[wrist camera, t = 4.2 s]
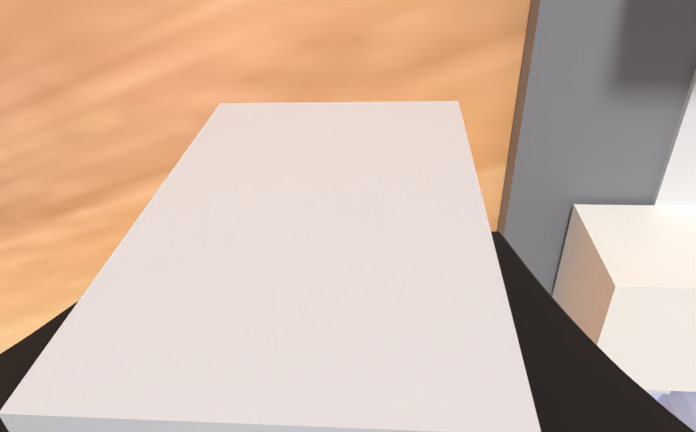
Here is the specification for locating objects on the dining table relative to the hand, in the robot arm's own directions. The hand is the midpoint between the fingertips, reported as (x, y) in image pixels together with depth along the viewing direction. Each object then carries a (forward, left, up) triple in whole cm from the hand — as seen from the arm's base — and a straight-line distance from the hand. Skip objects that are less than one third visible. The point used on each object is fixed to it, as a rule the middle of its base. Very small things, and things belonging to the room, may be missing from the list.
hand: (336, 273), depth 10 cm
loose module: (0, 0, -2) cm, 2 cm away
